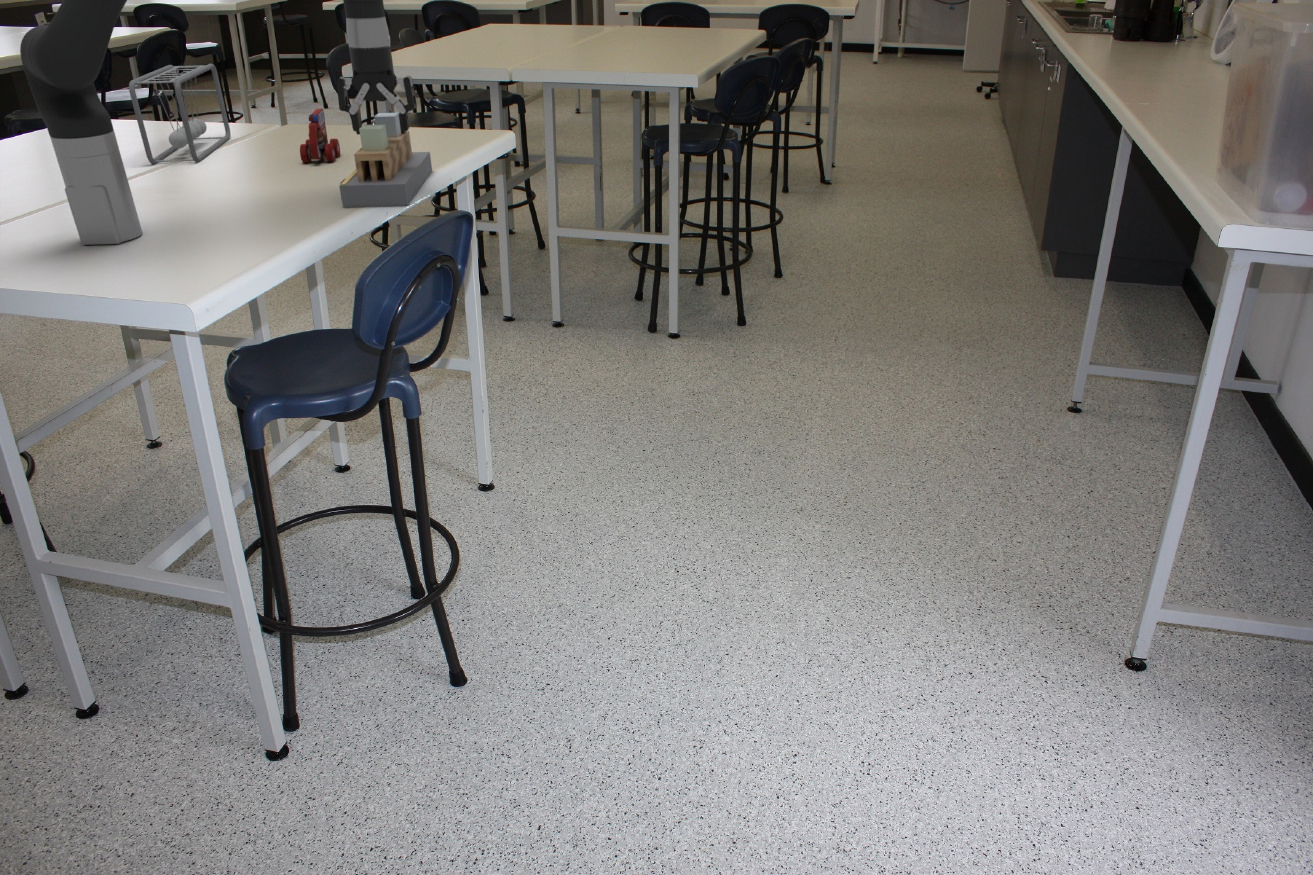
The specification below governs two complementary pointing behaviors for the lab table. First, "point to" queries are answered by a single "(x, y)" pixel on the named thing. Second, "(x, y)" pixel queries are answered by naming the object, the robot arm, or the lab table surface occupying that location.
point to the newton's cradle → (189, 129)
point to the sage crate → (373, 137)
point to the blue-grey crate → (389, 123)
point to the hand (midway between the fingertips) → (382, 133)
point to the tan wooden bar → (384, 159)
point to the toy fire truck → (319, 140)
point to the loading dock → (388, 185)
